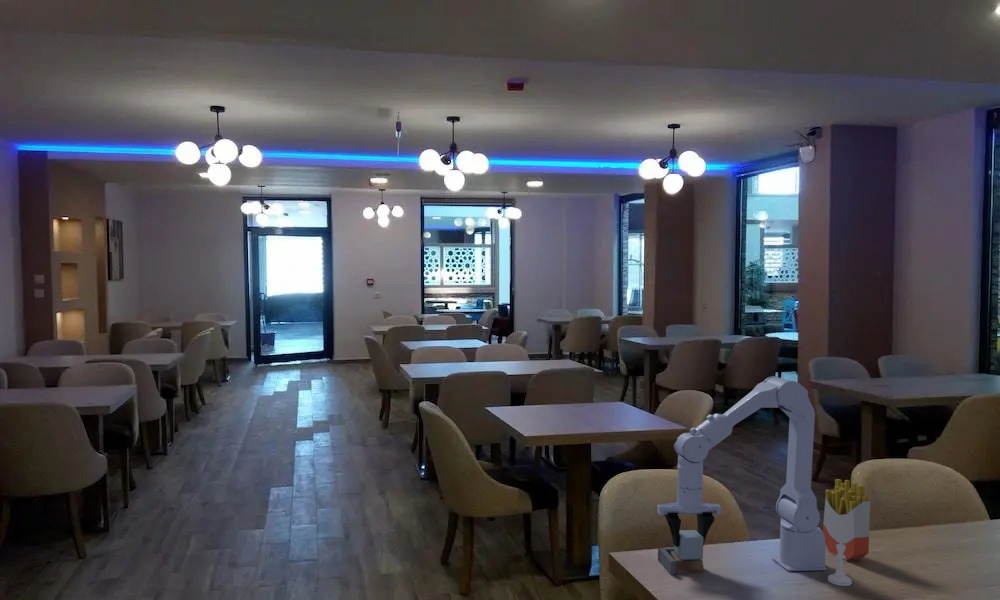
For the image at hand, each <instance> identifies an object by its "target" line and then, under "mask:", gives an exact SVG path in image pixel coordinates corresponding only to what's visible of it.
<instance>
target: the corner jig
mask: <svg viewBox="0 0 1000 600" xmlns="http://www.w3.org/2000/svg"><path fill="white" fill-rule="evenodd" d="M670 551H674V546H673V547H658V549H657V561H658V562H659V563H660V565H661V566H662V565H663V566H664V567H663V566H662V567H663V568H664V569H665V570H666V572H667V573H668V572H669V573H668V574H669V575H670V576H672V575H673V576H674V574H677V573H676V561H675V560H674V559H673V558H672V557H671V555H670Z"/></svg>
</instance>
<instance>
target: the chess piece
mask: <svg viewBox="0 0 1000 600" xmlns="http://www.w3.org/2000/svg"><path fill="white" fill-rule="evenodd" d="M837 542H840V544H837V545H836V548H837V551H838V554H836V556H835V555H834V556H835V558H837V563H836V564H837V565H836V570H835V572H834V573H832V574H829V575H828V576H827V581H828V582H829V583H831V584H833V585H836V586H840V587H842V586H843V587H849V586H851V584H853V580H852V578H850V577H849V576H848V575H846V573H845V569H844V567H845V566H844V560H843V559H845V558H846V556H845V555H843V553H844V551H845V548H846V546H845V545H843V544H842V542H845V540H842V537H840V539H837Z"/></svg>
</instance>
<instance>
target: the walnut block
mask: <svg viewBox="0 0 1000 600" xmlns="http://www.w3.org/2000/svg"><path fill="white" fill-rule="evenodd" d="M670 555H671V557H672V558H673V559H674V560H675V561H676V572H682V574H687V573H688V574H703V563H704V562H703V561H704V560H703V559H686V560H681V559H680V557H679V556H678V555H677V554H676V553H675V552H674V551H670ZM683 572H684V573H683Z"/></svg>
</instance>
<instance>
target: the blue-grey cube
mask: <svg viewBox="0 0 1000 600" xmlns="http://www.w3.org/2000/svg"><path fill="white" fill-rule="evenodd" d="M673 547H674V552H675V553H676V554H677V555H678V556H679V557H680V559H681V560H686V559H701V560H703V558H704V546H703V537H702V536H701V535H700V534H699V533H698V530H695V529H692V530H691V529H687V530H685V529H684V530H683V529H680V532H679V547H676V546H675V545H674V544H673Z"/></svg>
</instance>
